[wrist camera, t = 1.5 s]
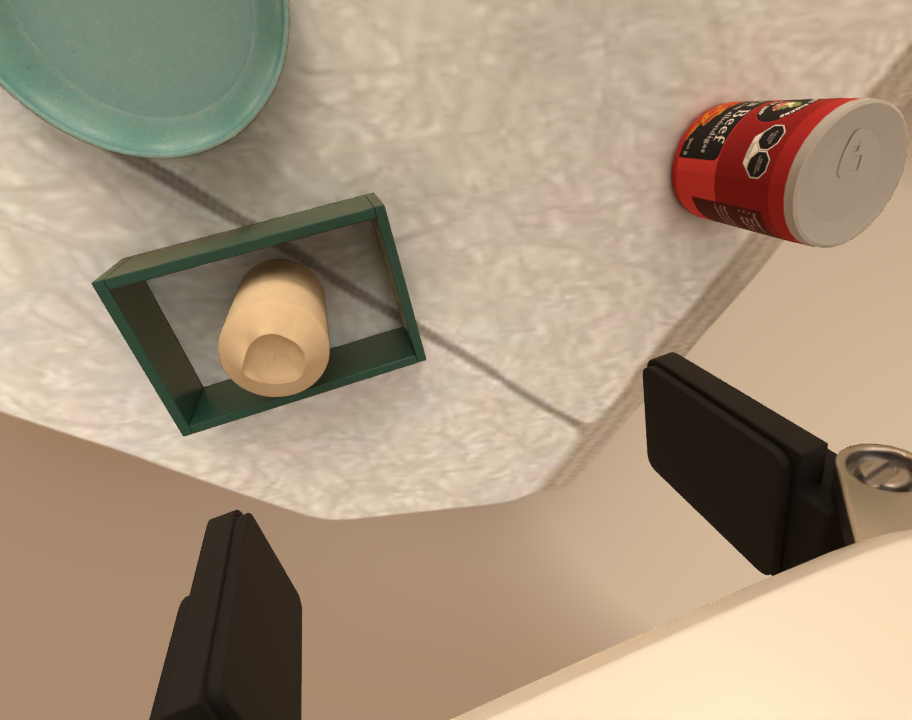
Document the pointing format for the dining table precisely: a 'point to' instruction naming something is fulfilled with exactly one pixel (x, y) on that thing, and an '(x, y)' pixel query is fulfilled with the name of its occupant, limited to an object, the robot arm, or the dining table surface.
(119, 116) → the saucer
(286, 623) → the robot arm
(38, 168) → the dining table surface
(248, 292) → the candle
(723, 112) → the canned food
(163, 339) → the case
